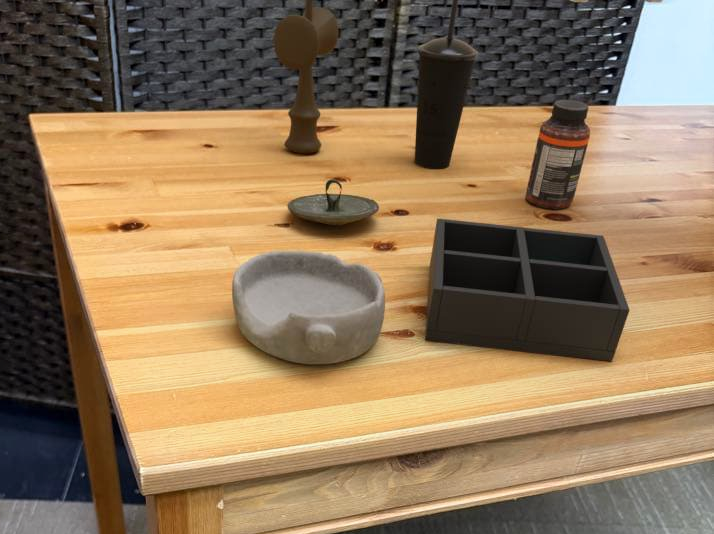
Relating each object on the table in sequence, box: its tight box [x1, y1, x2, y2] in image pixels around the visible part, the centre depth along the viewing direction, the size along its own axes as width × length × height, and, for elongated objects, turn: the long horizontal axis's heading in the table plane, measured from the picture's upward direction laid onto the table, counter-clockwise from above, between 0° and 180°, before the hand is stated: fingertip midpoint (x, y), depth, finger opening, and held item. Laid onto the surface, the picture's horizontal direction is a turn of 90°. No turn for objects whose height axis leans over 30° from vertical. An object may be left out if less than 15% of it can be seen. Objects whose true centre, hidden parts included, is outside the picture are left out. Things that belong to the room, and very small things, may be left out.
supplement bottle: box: [525, 99, 591, 210], centre depth 99 cm, size 6×6×11 cm
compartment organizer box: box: [424, 218, 630, 362], centre depth 78 cm, size 17×17×5 cm
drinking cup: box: [414, 0, 479, 170], centre depth 105 cm, size 8×8×20 cm
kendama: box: [273, 0, 340, 154], centre depth 107 cm, size 6×10×20 cm, turn 160°
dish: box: [231, 250, 386, 365], centre depth 72 cm, size 14×14×5 cm
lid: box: [286, 178, 380, 227], centre depth 93 cm, size 11×10×5 cm
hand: (615, 1), depth 87 cm, fingers open, 8 cm apart
